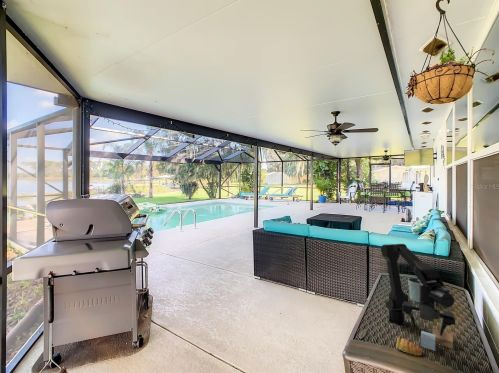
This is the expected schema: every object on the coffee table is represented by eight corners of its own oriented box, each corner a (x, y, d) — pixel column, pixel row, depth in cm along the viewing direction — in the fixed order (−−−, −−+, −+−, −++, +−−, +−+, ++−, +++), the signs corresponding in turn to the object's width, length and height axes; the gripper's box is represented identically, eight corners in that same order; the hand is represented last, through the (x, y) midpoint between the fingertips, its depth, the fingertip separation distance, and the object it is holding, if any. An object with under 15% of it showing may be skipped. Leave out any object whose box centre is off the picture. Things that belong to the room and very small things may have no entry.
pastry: (422, 350, 106) (422, 341, 106) (421, 359, 100) (421, 350, 100) (397, 342, 111) (396, 334, 111) (395, 350, 106) (395, 342, 106)
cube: (420, 347, 107) (420, 336, 107) (421, 341, 111) (421, 330, 111) (435, 352, 104) (434, 340, 104) (435, 346, 108) (435, 334, 108)
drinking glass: (432, 303, 145) (431, 283, 145) (414, 303, 146) (414, 283, 146) (420, 295, 156) (420, 277, 156) (404, 296, 156) (404, 277, 156)
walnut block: (433, 344, 110) (432, 336, 110) (432, 336, 116) (432, 328, 116) (453, 350, 106) (453, 342, 106) (452, 341, 111) (451, 333, 111)
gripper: (400, 297, 107) (400, 332, 107) (455, 310, 96) (456, 349, 96) (403, 288, 116) (403, 321, 116) (454, 299, 104) (455, 335, 105)
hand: (427, 331), depth 108 cm, fingers open, 9 cm apart
